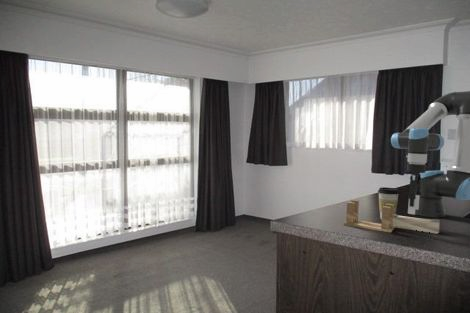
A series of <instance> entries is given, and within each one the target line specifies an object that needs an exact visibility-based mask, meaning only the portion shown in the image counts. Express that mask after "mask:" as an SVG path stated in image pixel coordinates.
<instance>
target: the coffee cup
mask: <svg viewBox="0 0 470 313" xmlns="http://www.w3.org/2000/svg"><path fill="white" fill-rule="evenodd" d="M377 193H378V208H379V215H380V216H379V217H380V220H382V207H383V206H385V204H393V214H397V213H396V212H397V208H398V207H397V206H398V202H399V200H398V199H399V195H400V193H401V192H400V191H399V189H398V188H394V187H386V186H384V187H383V186H382V187H379V189H378V191H377Z"/></svg>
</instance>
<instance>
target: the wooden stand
mask: <svg viewBox="0 0 470 313" xmlns="http://www.w3.org/2000/svg"><path fill="white" fill-rule="evenodd" d="M359 202H360V201H359V200H357V199H351V201H347V203H346V220H345V222H343V226H346V225H347V226H346V227H353V228H359V229H360V228H361V229H365V230H372V231H379V232H385V233H392V232H393V231H394V229H395V226H392V221H393V204H385V206H383V207H382V219H381V222H380V223H379V222H370V221H364V220H359Z"/></svg>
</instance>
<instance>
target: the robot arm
mask: <svg viewBox="0 0 470 313" xmlns="http://www.w3.org/2000/svg"><path fill="white" fill-rule="evenodd" d="M427 108H428V109H427V110H426V111H425V112H423V113H422V114H421V115H420V116H419V117H418V118H417V119H415V120H414V121H413V122H412V123H411V124H410V125H409V126H407V127H406V129H404V130H403V131H402V132H395V133H393V134H392V135H391V138H390V143H391V146H392V147H393V148H395V149H400V150H403V149H404V150H408V151H407V155H406V156H405V157H406V158H407V163H406V164H407V165H406V172H408V173H412V174H411V175H410V178H409V188H408V195H407V196H406V199H408V205H407V207H408V208H407V214H409V215H418V216H421V217H427V218H445V217H446V210H445V206H444V203H443V198H448V199H449V198H450V199H455V200H459V201H460V200H462V201H469V200H470V90H467V91H454V92H449V93H447V94H444V95H441V97H439V98H437V99H436V100H434V101H432V102H431V103H430V104H429V105H428V107H427ZM448 116H455V117H456V118H457V120H458V125H457V131H456V135H455V136H456V137H455V142H454V146H453V147H454V149H453V154H452V159H451V166H450V167H449V168H447V170H446V173H445V171H444V170H427V165H426V163H427V162H428V151H438V150H441V149H442V148H443V147H444V145H445V139H444V137H443V136H442V135H441V134H439V133H436V132H435V133H429V130H430V129H431V128H432V127H434V126H435V124H436V123H438V122H439V121H440V120H442V119H443V120H444V119H445V118H446V117H448Z"/></svg>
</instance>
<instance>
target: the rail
mask: <svg viewBox="0 0 470 313" xmlns="http://www.w3.org/2000/svg"><path fill="white" fill-rule="evenodd" d="M392 226H395V228H397V229H403V230H409V231H416V230H417V232H422V231H423V233H429V232H430V234H438V233H439V234H440V219H436V218H435V219H433V218H431V219H429V218H420V217H419V218H418V217H411V216H405V215H404V216H403V215H398V214H397V213H395V214H393V221H392ZM395 228H394V229H395ZM439 234H438V235H439Z"/></svg>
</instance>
